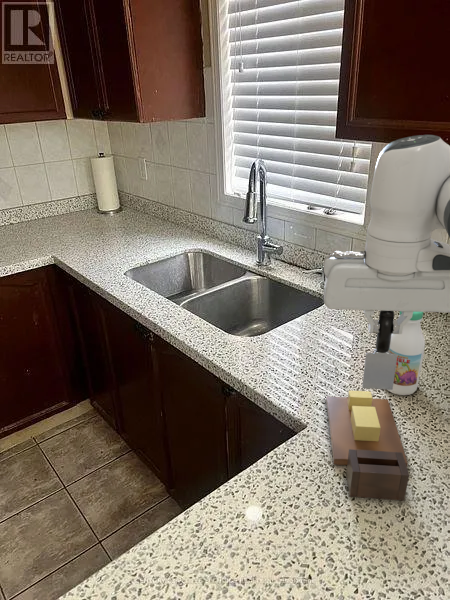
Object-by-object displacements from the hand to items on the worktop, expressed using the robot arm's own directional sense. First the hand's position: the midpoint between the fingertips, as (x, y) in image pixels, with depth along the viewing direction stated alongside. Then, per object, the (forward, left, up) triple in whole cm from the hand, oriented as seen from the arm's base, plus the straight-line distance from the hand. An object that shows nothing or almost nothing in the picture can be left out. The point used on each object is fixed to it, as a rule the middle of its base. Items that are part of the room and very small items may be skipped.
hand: (384, 332), depth 72 cm
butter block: (0, -5, -26) cm, 26 cm away
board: (0, -6, -27) cm, 28 cm away
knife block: (0, +7, -27) cm, 28 cm away
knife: (0, 0, -11) cm, 11 cm away
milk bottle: (-10, -22, -27) cm, 37 cm away
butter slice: (0, -12, -26) cm, 28 cm away
